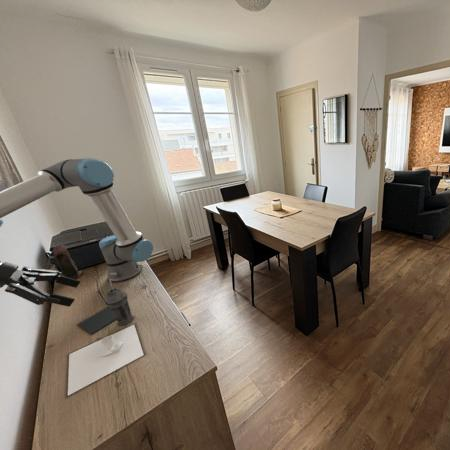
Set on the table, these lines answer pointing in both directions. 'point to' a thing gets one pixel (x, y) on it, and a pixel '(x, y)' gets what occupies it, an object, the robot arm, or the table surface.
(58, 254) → the statue
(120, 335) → the teacup and saucer
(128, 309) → the beverage cup
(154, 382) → the table surface
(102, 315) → the mat
